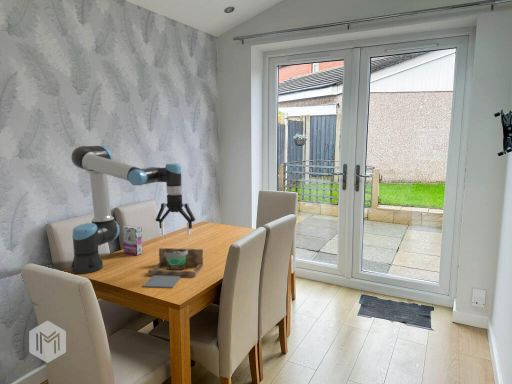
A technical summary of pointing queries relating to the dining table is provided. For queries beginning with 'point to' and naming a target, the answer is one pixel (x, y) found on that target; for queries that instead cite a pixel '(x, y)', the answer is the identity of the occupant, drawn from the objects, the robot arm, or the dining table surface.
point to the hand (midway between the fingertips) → (176, 234)
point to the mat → (162, 281)
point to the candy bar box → (132, 240)
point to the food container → (176, 260)
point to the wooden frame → (192, 259)
